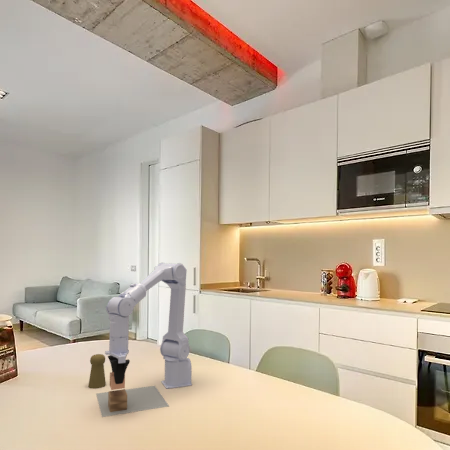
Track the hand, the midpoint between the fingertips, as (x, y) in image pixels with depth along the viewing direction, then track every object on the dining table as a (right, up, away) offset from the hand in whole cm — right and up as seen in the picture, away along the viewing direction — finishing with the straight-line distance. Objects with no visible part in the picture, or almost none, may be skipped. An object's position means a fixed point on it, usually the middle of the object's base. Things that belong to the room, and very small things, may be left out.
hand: (118, 381), depth 118 cm
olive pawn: (-13, -10, +19) cm, 25 cm away
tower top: (0, -6, 0) cm, 6 cm away
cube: (0, -2, 0) cm, 2 cm away
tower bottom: (0, -8, -1) cm, 8 cm away
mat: (+3, -9, +6) cm, 11 cm away
